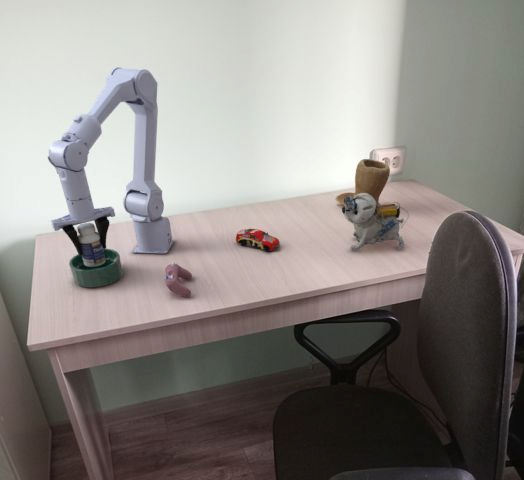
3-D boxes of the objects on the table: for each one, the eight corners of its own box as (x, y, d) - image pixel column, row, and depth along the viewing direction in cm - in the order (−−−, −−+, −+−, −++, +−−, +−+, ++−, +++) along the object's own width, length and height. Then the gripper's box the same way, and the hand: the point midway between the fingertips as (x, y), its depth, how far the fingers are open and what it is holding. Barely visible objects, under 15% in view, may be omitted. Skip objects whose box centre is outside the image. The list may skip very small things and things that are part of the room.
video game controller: (178, 284, 125) (162, 262, 121) (193, 275, 124) (177, 254, 120) (176, 304, 117) (159, 282, 113) (192, 296, 116) (175, 273, 112)
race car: (283, 246, 137) (283, 233, 135) (273, 254, 134) (273, 240, 131) (244, 236, 143) (243, 223, 141) (233, 243, 140) (232, 230, 137)
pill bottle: (100, 268, 122) (90, 231, 116) (80, 267, 123) (69, 230, 117) (109, 258, 126) (101, 222, 120) (90, 257, 127) (80, 221, 121)
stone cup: (392, 213, 153) (399, 164, 144) (360, 220, 150) (365, 170, 140) (364, 198, 164) (369, 151, 155) (334, 204, 161) (336, 157, 152)
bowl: (129, 266, 131) (126, 248, 128) (113, 289, 121) (108, 271, 118) (86, 265, 132) (81, 247, 129) (66, 288, 123) (60, 270, 119)
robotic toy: (334, 238, 140) (337, 186, 131) (393, 234, 141) (401, 181, 132) (344, 259, 130) (348, 203, 121) (409, 254, 131) (418, 198, 122)
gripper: (102, 184, 120) (114, 237, 128) (41, 198, 114) (58, 252, 122) (112, 193, 115) (124, 246, 123) (49, 207, 109) (66, 263, 117)
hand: (92, 250), depth 122 cm, fingers closed on pill bottle, 5 cm apart
